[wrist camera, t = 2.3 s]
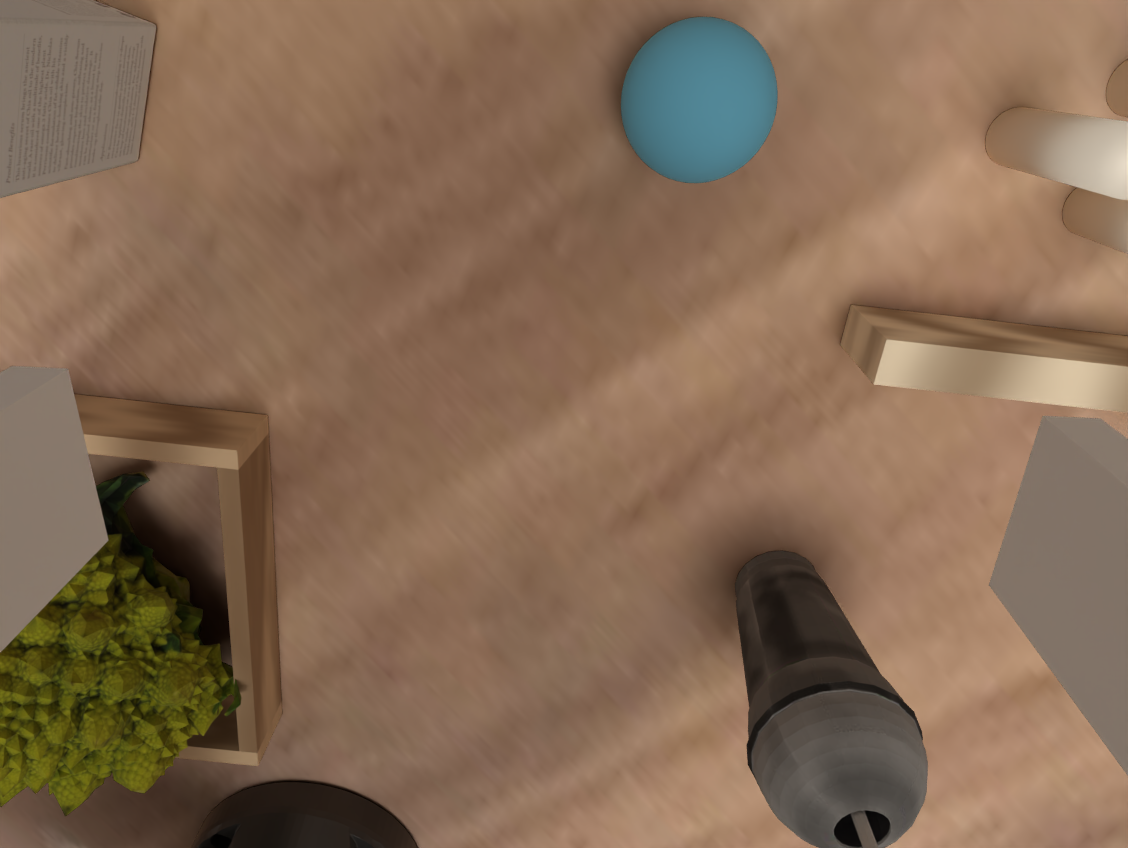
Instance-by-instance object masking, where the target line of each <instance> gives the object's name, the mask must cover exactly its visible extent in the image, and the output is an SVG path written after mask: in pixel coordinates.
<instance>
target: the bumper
mask: <svg viewBox="0 0 1128 848" xmlns="http://www.w3.org/2000/svg"><path fill="white" fill-rule="evenodd" d="M840 345H841V347H842V348H843V349H844V350H845V351H846V352H847V354H848V355H849V356H850V357H851V358H852V360H853V361H854V362H855V363H856V364H857V365H858V367H859V368H860V369H861V370H862V371H863V373H864V374H865V375H866V376H867V377H868V378H869V380H870V381H871V382H872V383H873V384H875V385H884V386H893V387H902V388H911V389H920V390H929V391H938V392H946V393H955V394H964V395H973V396H982V397H991V398H1000V399H1009V400H1018V401H1027V402H1036V403H1045V404H1054V405H1063V406H1072V407H1081V408H1090V409H1099V410H1108V411H1117V412H1126V413H1128V336H1123V335H1114V334H1105V333H1096V332H1087V331H1079V330H1070V329H1061V328H1052V327H1044V326H1035V325H1026V324H1017V323H1008V322H1000V321H991V320H982V319H973V318H965V317H956V316H947V315H938V314H929V313H921V312H912V311H903V310H894V309H886V308H877V307H868V306H859V305H851V306H850V310H849V313H848V317H847V321H846V325H845V328H844V332H843V336H842V340H841V343H840Z"/></svg>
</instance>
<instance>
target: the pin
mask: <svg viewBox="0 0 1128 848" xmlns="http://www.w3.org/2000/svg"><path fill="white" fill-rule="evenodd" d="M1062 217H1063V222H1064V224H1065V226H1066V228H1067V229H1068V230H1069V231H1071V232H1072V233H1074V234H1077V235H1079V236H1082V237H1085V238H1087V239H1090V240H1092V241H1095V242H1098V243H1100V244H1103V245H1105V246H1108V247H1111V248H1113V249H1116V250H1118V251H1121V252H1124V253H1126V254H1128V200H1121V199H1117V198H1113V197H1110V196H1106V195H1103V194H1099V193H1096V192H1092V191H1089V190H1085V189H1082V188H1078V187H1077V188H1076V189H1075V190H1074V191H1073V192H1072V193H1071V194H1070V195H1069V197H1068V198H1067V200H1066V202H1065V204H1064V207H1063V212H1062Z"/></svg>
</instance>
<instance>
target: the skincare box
mask: <svg viewBox="0 0 1128 848" xmlns="http://www.w3.org/2000/svg"><path fill="white" fill-rule="evenodd" d="M155 33H156V25H155V24H153V23H151V22H148V21H146V20H143V19H141V18H138V17H136V16H133V15H130V14H128V13H126V12H123V11H121V10H118V9H116V8H113V7H110V6H108V5H105V4H102V3H99V2H97V1H94V0H0V198H2V197H6V196H10V195H13V194H17V193H20V192H25V191H29V190H32V189H36V188H40V187H44V186H47V185H51V184H55V183H58V182H62V181H66V180H70V179H74V178H78V177H81V176H85V175H89V174H93V173H97V172H100V171H104V170H108V169H112V168H115V167H119V166H123V165H127V164H130V163H134V162H136V161H137V160H138V157H139V149H140V142H141V134H142V127H143V119H144V112H145V105H146V98H147V90H148V83H149V75H150V68H151V61H152V54H153V46H154V40H155Z"/></svg>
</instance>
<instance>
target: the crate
mask: <svg viewBox="0 0 1128 848" xmlns="http://www.w3.org/2000/svg"><path fill="white" fill-rule="evenodd" d="M74 396H75V400H76V405H77V409H78V413H79V417H80V422H81V426H82V430H83V434H84V439H85V443H86V447H87V451H88V454H96V455H106V456H115V457H124V458H134V459H143V460H152V461H161V462H171V463H180V464H189V465H199V466H208V467H217V476H218V488H219V501H220V513H221V526H222V539H223V551H224V564H225V577H226V589H227V602H228V614H229V627H230V640H231V652H232V665H233V677H234V683H235V679H236V681H237V685H238V688H239V691H240V694H241V705H240V706H239V707H237V708H236V709H235V710H234V711H233V712H232V713H231V714H229V715H228V716H227V717H226V716H225V715H224V714H225V712H226V711H227V710H228V708H229V707H230V705H231V704H232V703H233V701H234V696H228V697H227V698H226V699H224V700H223V701H222V706H223V709H222V711H221V712H220V714H219V715H218V717H217V718H216V719H215V720H214V721H213V722H212V724H211V725H210V727H209V728H208V730H207V731H206V733H205V734H204V736H202V735H201V734H200V733H199V732H198V733H199V735H193V736H192V737H191V738H189V739H187V745H188V747H187V748H185V749H183V750H182V751H180V752H179V757H175V758H181V759H191V760H201V761H211V762H221V763H231V764H241V765H252V766H259V763H260V761H261V759H262V757H263V755H264V752H265V750H266V748H267V746H268V744H269V741H270V739H271V737H272V735H273V733H274V730H275V728H276V726H277V724H278V722H279V719H280V717H281V715H282V698H281V678H280V657H279V636H278V615H277V594H276V573H275V553H274V532H273V511H272V490H271V469H270V448H269V427H268V415H263V414H253V413H244V412H235V411H226V410H217V409H207V408H198V407H189V406H180V405H171V404H162V403H152V402H143V401H134V400H125V399H116V398H106V397H97V396H88V395H79V394H74Z"/></svg>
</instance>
